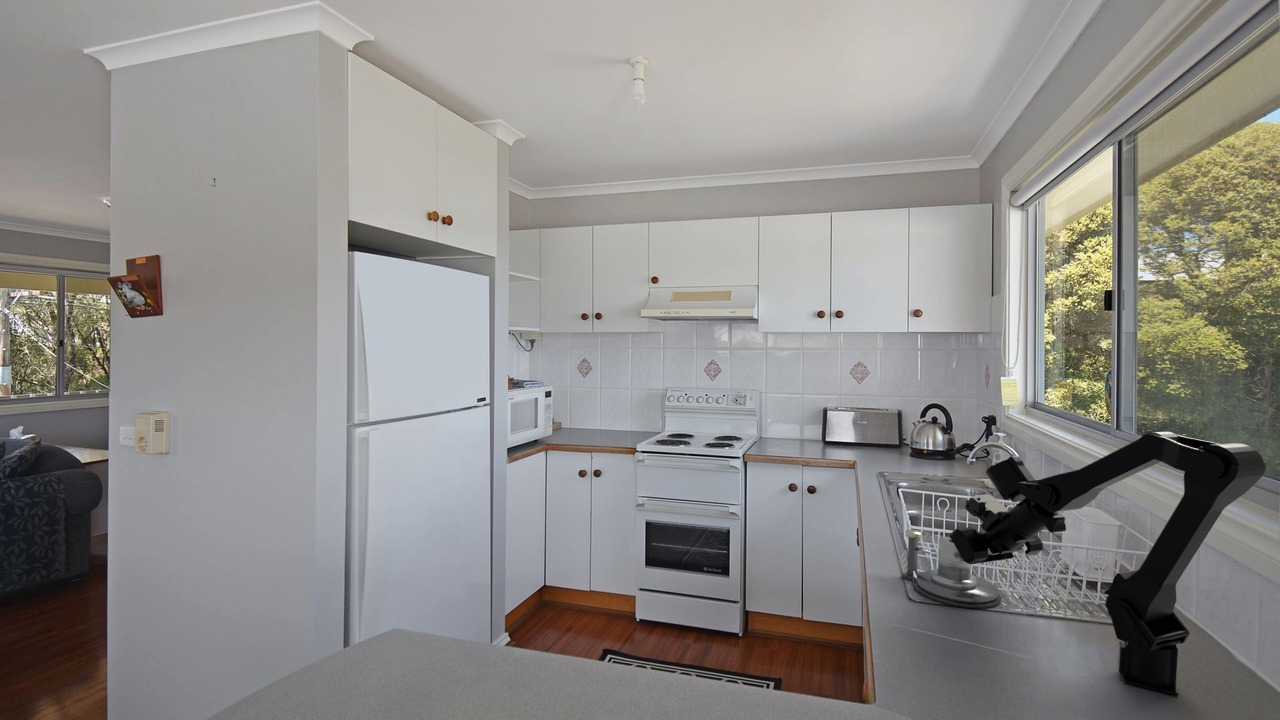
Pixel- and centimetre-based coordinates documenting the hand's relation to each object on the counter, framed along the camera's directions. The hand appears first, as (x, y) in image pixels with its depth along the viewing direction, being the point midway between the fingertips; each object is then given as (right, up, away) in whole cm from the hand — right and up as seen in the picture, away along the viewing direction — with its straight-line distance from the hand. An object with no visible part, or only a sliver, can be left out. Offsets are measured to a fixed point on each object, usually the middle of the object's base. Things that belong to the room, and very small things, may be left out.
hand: (969, 561), depth 131 cm
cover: (-2, -5, +3) cm, 6 cm away
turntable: (-1, -7, +3) cm, 8 cm away
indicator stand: (-7, -7, +9) cm, 13 cm away
